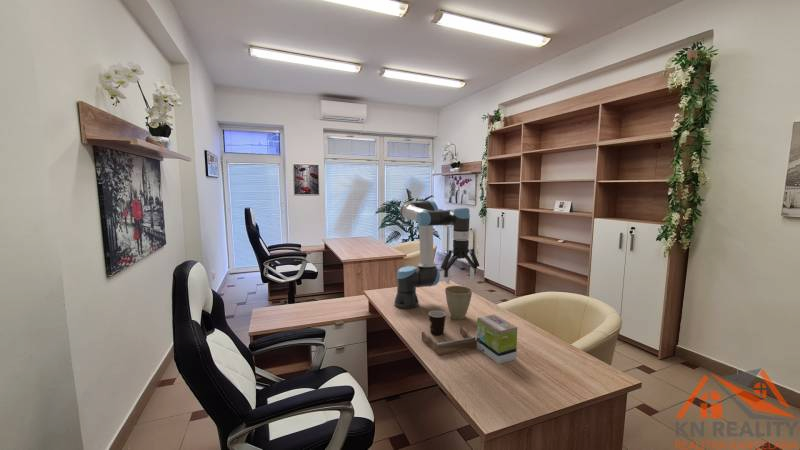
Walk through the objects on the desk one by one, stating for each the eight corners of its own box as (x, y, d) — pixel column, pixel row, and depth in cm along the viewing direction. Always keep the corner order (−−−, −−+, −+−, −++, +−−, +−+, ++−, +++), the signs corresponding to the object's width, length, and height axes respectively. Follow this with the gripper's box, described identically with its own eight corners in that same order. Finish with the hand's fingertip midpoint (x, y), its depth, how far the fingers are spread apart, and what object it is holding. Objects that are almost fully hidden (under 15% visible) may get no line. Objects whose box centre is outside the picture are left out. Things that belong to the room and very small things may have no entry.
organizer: (421, 340, 151) (421, 330, 151) (462, 333, 158) (462, 324, 158) (435, 356, 137) (435, 345, 136) (479, 348, 144) (479, 338, 143)
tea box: (475, 348, 144) (476, 316, 142) (493, 344, 148) (494, 313, 146) (498, 365, 130) (499, 330, 128) (517, 359, 134) (518, 326, 132)
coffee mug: (445, 337, 154) (445, 317, 153) (427, 335, 156) (427, 316, 155) (446, 327, 165) (446, 308, 164) (429, 326, 167) (430, 307, 166)
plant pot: (452, 324, 169) (453, 295, 167) (440, 313, 183) (440, 287, 181) (476, 320, 174) (477, 292, 172) (462, 310, 188) (463, 284, 186)
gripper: (441, 242, 146) (440, 286, 149) (487, 239, 154) (485, 281, 157) (434, 239, 153) (433, 282, 156) (478, 236, 161) (477, 277, 164)
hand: (459, 281), depth 156 cm, fingers open, 13 cm apart
